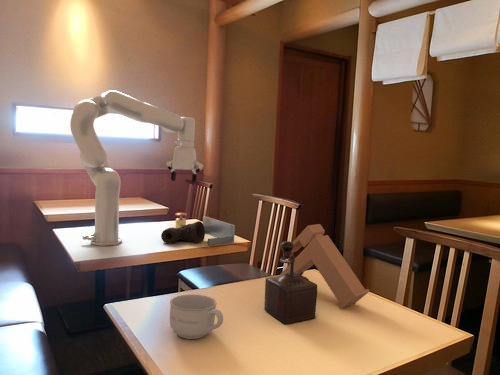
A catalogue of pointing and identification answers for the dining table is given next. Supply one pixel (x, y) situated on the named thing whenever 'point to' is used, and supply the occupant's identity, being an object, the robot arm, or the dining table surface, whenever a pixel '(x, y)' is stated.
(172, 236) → the pipe
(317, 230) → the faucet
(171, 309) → the teacup
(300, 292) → the pepper mill
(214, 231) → the grey angle bracket
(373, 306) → the dining table surface
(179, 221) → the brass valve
